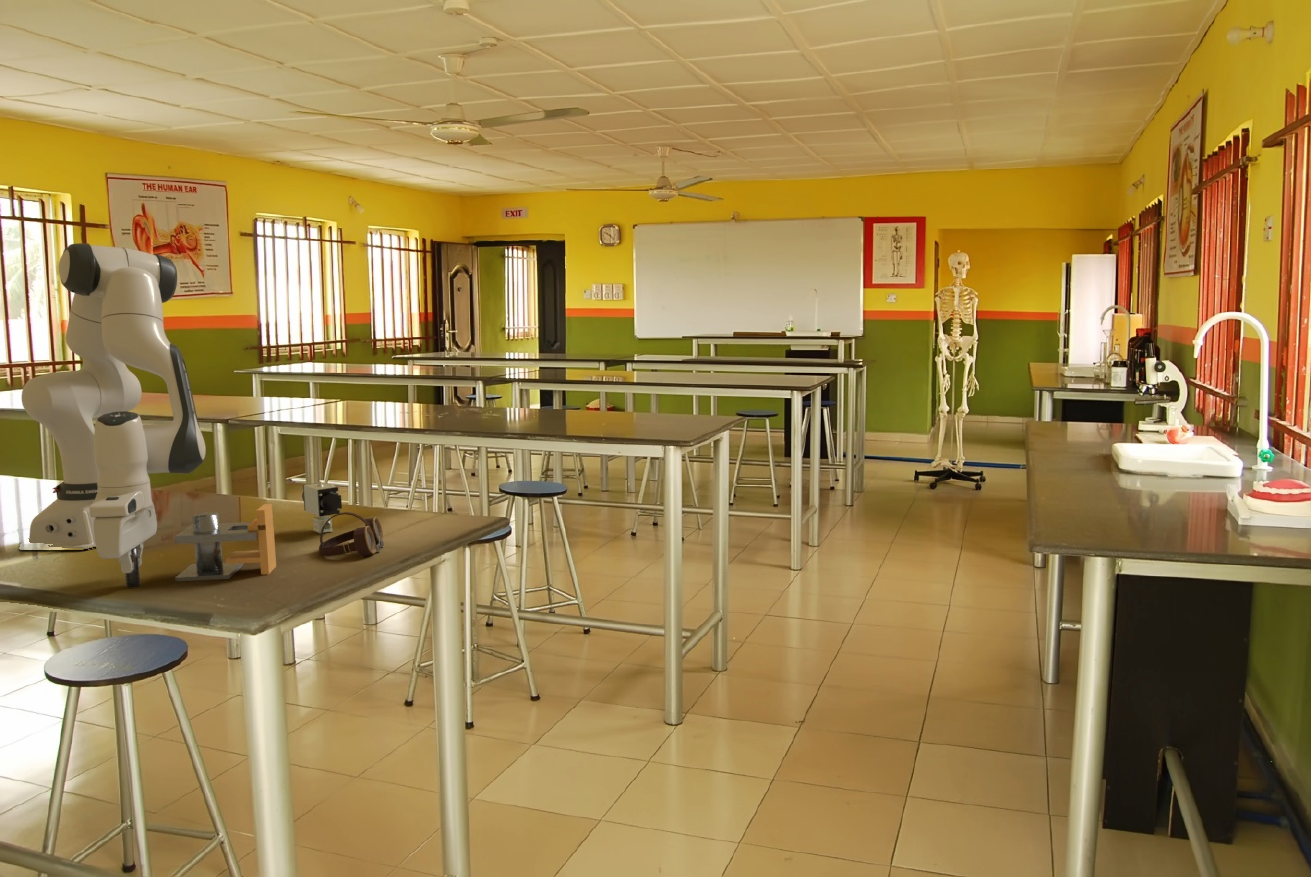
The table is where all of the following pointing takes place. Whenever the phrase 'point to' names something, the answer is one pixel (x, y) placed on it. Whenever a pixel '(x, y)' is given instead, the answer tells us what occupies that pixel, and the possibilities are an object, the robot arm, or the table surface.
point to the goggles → (362, 537)
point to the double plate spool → (211, 546)
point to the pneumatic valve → (321, 504)
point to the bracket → (260, 542)
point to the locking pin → (134, 576)
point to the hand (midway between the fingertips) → (131, 569)
